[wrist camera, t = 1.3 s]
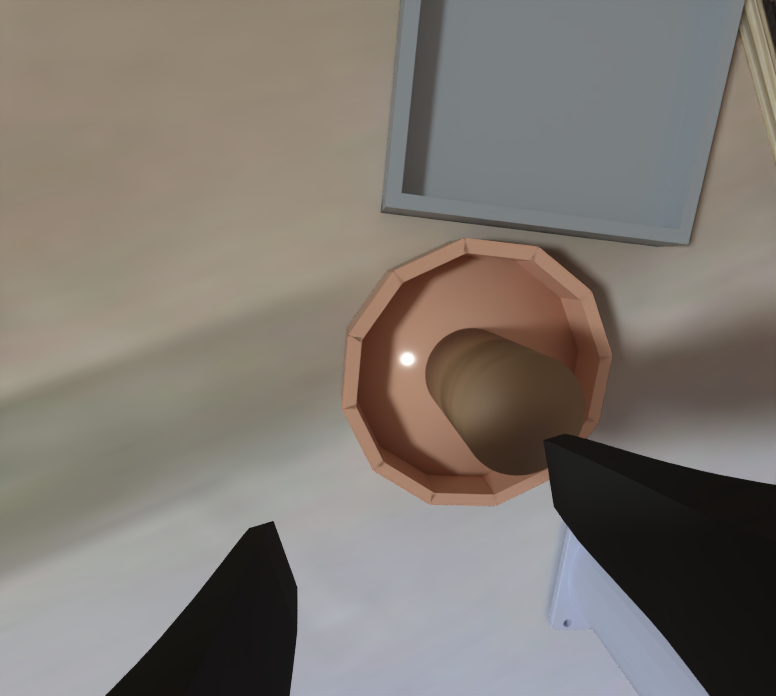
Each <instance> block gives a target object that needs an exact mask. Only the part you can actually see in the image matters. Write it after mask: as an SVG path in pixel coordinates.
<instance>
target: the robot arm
mask: <svg viewBox="0 0 776 696" xmlns="http://www.w3.org/2000/svg"><path fill="white" fill-rule="evenodd" d="M543 442H544V448H545V454H546V461H547V467H548V473H549V479H550V485H551V491H552V498H553V504H554V507H555V509H556V510H557V512H558V513H559V515H560V516H561V518H562V519H563V521H564V522H565V523H566V525H567V530H566V535H565V540H564V545H563V550H562V555H561V560H560V565H559V569H558V574H557V579H556V584H555V589H554V594H553V599H552V604H551V609H550V614H549V623H550V625H551V626H552V628H553V629H555V630H576V629H592V630H593V631H594V633H595V634H596V635H597V637H598V638H599V640H600V641H601V642H602V644H603V645H604V647H605V648H606V650H607V651H608V652H609V654H610V655H611V657H612V658H613V660H614V661H615V662H616V664H617V665H618V667H619V668H620V669H621V671H622V672H623V674H624V675H625V677H626V678H627V679H628V681H629V682H630V684H631V685H632V687H633V688H634V689H635V691H636V692H637V694H638V695H639V696H776V485H773V484H767V483H761V482H755V481H750V480H745V479H739V478H734V477H728V476H723V475H718V474H714V473H709V472H704V471H700V470H696V469H692V468H688V467H684V466H680V465H676V464H672V463H668V462H664V461H660V460H657V459H653V458H649V457H646V456H642V455H639V454H635V453H632V452H628V451H625V450H622V449H618V448H615V447H612V446H608V445H605V444H602V443H599V442H595V441H592V440H588V439H585V438H581V437H578V436H574V435H569V434H562V435H558V436H555V437H552V438H548V439H545V440H543ZM565 620H566V621H565ZM296 637H297V585H296V582H295V580H294V577H293V574H292V571H291V568H290V566H289V563H288V560H287V557H286V554H285V552H284V549H283V546H282V543H281V541H280V538H279V535H278V532H277V529H276V527H275V524H274V521H272V522H268V523H265V524H262V525H258V526H255V527H252V528H249V529H248V530H247V531H246V533H245V534H244V535H243V536H242V537H241V539H240V540H239V541H238V542H237V544H236V545H235V546H234V547H233V549H232V550H231V551H230V553H229V554H228V555H227V557H226V558H225V559H224V560H223V562H222V563H221V564H220V566H219V567H218V568H217V570H216V571H215V572H214V573H213V575H212V576H211V577H210V578H209V580H208V581H207V582H206V584H205V585H204V586H203V587H202V589H201V590H200V591H199V592H198V594H197V595H196V596H195V597H194V599H193V600H192V601H191V602H190V603H189V604H188V606H187V607H186V608H185V609H184V610H183V612H182V613H181V614H180V615H179V616H178V617H177V619H176V620H175V621H174V622H173V623H172V625H171V626H170V627H169V628H168V629H167V630H166V632H165V633H164V634H163V635H162V636H161V638H160V639H159V640H158V641H157V642H156V643H155V644H154V645H153V646H152V648H151V649H150V650H149V651H148V652H147V653H146V654H145V655H144V656H143V657H142V658H141V659H140V661H139V662H138V663H137V664H136V665H135V666H134V667H133V668H132V669H131V670H130V671H129V672H128V673H127V674H126V675H125V676H124V677H123V678H122V679H121V680H120V681H119V682H118V683H117V684H116V685H115V686H114V687H113V688H112V690H110V691H109V692H108V693H107V694H106V695H105V696H290V688H291V680H292V672H293V664H294V655H295V646H296Z"/></svg>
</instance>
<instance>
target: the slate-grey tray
mask: <svg viewBox="0 0 776 696" xmlns="http://www.w3.org/2000/svg"><path fill="white" fill-rule="evenodd" d="M744 2H745V0H401V1H400V12H399V23H398V33H397V44H396V55H395V66H394V77H393V87H392V98H391V109H390V120H389V130H388V141H387V152H386V163H385V174H384V184H383V195H382V206H381V213H388V214H396V215H404V216H413V217H421V218H429V219H437V220H445V221H453V222H461V223H469V224H478V225H486V226H494V227H502V228H510V229H518V230H526V231H535V232H543V233H551V234H559V235H567V236H575V237H583V238H591V239H600V240H608V241H616V242H624V243H632V244H640V245H648V246H657V247H660V246H674V245H688V244H689V239H690V235H691V231H692V226H693V222H694V218H695V213H696V209H697V205H698V201H699V196H700V192H701V188H702V183H703V179H704V175H705V170H706V166H707V162H708V157H709V153H710V149H711V144H712V140H713V136H714V131H715V127H716V123H717V118H718V114H719V110H720V105H721V101H722V97H723V92H724V88H725V84H726V79H727V75H728V71H729V67H730V62H731V58H732V54H733V49H734V45H735V41H736V36H737V32H738V28H739V23H740V19H741V15H742V10H743V6H744Z"/></svg>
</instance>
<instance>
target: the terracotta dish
mask: <svg viewBox="0 0 776 696" xmlns="http://www.w3.org/2000/svg"><path fill="white" fill-rule="evenodd" d="M465 328H479V329H483V330H487V331H489V332H491V333H494V334H496V335H499V336H501V337H503V338H506V339H508V340H511V341H513V342H515V343H518V344H520V345H522V346H525V347H527V348H530V349H532V350H534V351H537V352H539V353H542V354H544V355H546V356H549V357H551V358H553V359H555V360H558V361H559V362H561V363H562V364H564V365H565V366H566V367H568V368H569V369H570V370H571V371H572V372H573V374H574V375H575V376H576V378H577V379H578V381H579V383H580V385H581V388H582V390H583V394H584V399H585V417H584V422H583V426H582V429H581V431H580V434H579V436H578V437H581V438H585V439H587V437H588V436H589V435H590V433H591V432H592V431H593V430H594V428H595V427H596V426H597V425H598V423H597V422H599V419H600V415H601V410H602V405H603V400H604V395H605V391H606V386H607V381H608V376H609V371H610V367H611V362H612V357H611V356H612V353H611V350H610V346H609V343H608V340H607V337H606V334H605V331H604V327H603V324H602V321H601V318H600V315H599V312H598V309H597V305H596V302H595V299H594V296H593V293H592V292H591V290H590V289H589V288H587V287H586V286H585V285H584V284H583V283H581V282H580V281H579V280H578V279H577V278H575V277H574V276H573V275H572V274H571V273H570V272H568V271H567V270H566V269H565V268H564V267H562V266H561V265H560V264H559V263H558V262H556V261H555V260H554V259H553V258H552V257H550V256H549V255H548V254H547V253H546V252H544V251H543V250H542V249H541V248H540V247H538V246H530V245H521V244H513V243H504V242H496V241H487V240H479V239H470V238H463V239H459V240H454V241H450V242H448V243H446V244H443V245H441V246H439V247H437V248H435V249H433V250H430V251H428V252H426V253H424V254H422V255H420V256H417V257H415V258H413V259H411V260H409V261H407V262H404V263H402V264H400V265H398V266H396V267H394V268H392V269H389V270H388V271H386V273H385V274H384V276H383V277H382V278H381V280H380V281H379V283H378V284H377V286H376V287H375V288H374V290H373V291H372V293H371V294H370V296H369V297H368V298H367V300H366V301H365V303H364V304H363V306H362V307H361V308H360V310H359V311H358V313H357V314H356V315H355V317H354V318H353V320H352V321H351V323H350V324H349V325H348V327H347V333H346V345H345V357H344V370H343V382H342V410H343V412H344V414H345V416H346V418H347V420H348V422H349V424H350V426H351V428H352V430H353V432H354V434H355V436H356V438H357V440H358V442H359V444H360V446H361V448H362V450H363V452H364V454H365V456H366V458H367V459H368V461H369V463H370V465H371V467H372V469H373V470H374V471H375V472H376V473H378V474H380V475H381V476H383V477H385V478H386V479H388V480H390V481H391V482H393V483H395V484H396V485H398V486H400V487H401V488H403V489H405V490H406V491H408V492H410V493H411V494H413V495H415V496H416V497H418V498H420V499H421V500H423V501H425V502H426V503H428V504H430V505H471V506H495V504H496V506H497V505H499V504H501V503H503V502H505V501H507V500H509V499H511V498H513V497H515V496H517V495H520V494H522V493H524V492H526V491H528V490H530V489H532V488H534V487H536V486H538V485H540V484H542V483H544V482H546V481H548V480H550V479H549V473H548V468H546V469H544V470H542V471H539V472H537V473H533V474H529V475H520V476H513V475H506V474H501V473H498V472H496V471H493V470H491V469H489V468H488V467H486V466H485V465H483V464H482V463H481V462H480V461H479V460H478V459H477V458H476V457H475V456H474V454H473V453H472V452H471V450H470V449H469V448H468V446H467V445H466V443H465V442H464V441H463V439H462V438H461V437H460V435H459V434H458V432H457V431H456V430H455V428H454V427H453V426H452V424H451V423H450V421H449V420H448V419H447V417H446V416H445V415H444V413H443V412H442V410H441V409H440V408H439V406H438V405H437V404H436V402H435V401H434V399H433V398H432V397H431V395H430V393H429V391H428V388H427V385H426V379H425V369H426V364H427V361H428V358H429V356H430V353H431V352H432V350H433V349H434V347H435V346H436V345H437V343H438V342H439V341H440V340H442V339H443V338H444V337H445V336H447V335H448V334H450V333H452V332H454V331H457V330H460V329H465Z"/></svg>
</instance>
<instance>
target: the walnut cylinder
mask: <svg viewBox="0 0 776 696" xmlns="http://www.w3.org/2000/svg"><path fill="white" fill-rule="evenodd" d="M425 379H426V385H427V388H428V391H429V393H430V395H431V397H432V398H433V399H434V401H435V402H436V404H437V405H438V406H439V408H440V409H441V410H442V412H443V413H444V415H445V416H446V417H447V419H448V420H449V421H450V423H451V424H452V426H453V427H454V428H455V430H456V431H457V432H458V434H459V435H460V437H461V438H462V439H463V441H464V442H465V443H466V445H467V446H468V448H469V449H470V450H471V452H472V453H473V454H474V456H475V457H476V458H477V459H478V460H479V461H480V462H481V463H482V464H483V465H485V466H486V467H488V468H489V469H491V470H493V471H496V472H498V473H501V474H506V475H513V476H520V475H529V474H533V473H537V472H539V471H542V470H544V469H546V468H548V467H547V461H546V454H545V448H544V442H543V440H545V439H548V438H552V437H555V436H558V435H562V434H569V435H574V436H579V434H580V431H581V429H582V426H583V422H584V417H585V399H584V394H583V390H582V388H581V385H580V383H579V381H578V379H577V378H576V376H575V375H574V374H573V372H572V371H571V370H570V369H569V368H568V367H566V366H565V365H564V364H562V363H561V362H559V361H558V360H555V359H553V358H551V357H549V356H546V355H544V354H542V353H539V352H537V351H534V350H532V349H530V348H527V347H525V346H522V345H520V344H518V343H515V342H513V341H511V340H508V339H506V338H503V337H501V336H499V335H496V334H494V333H491V332H489V331H487V330H483V329H479V328H465V329H460V330H457V331H454V332H452V333H450V334H448V335H447V336H445V337H444V338H443V339H442V340H440V341H439V342H438V343H437V345H436V346H435V347H434V349H433V350H432V352H431V353H430V356H429V358H428V361H427V364H426V369H425Z"/></svg>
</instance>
